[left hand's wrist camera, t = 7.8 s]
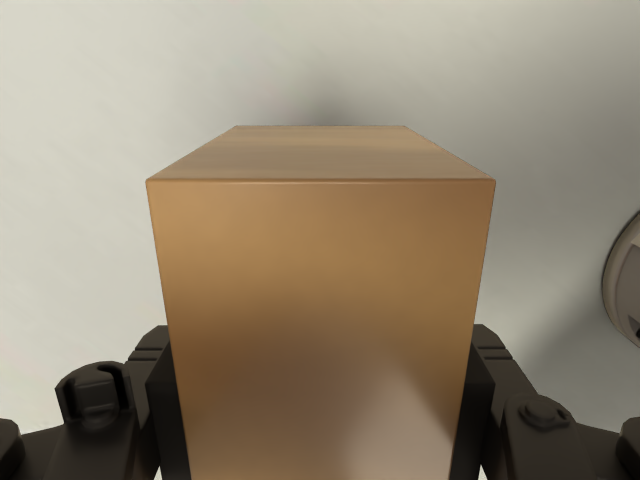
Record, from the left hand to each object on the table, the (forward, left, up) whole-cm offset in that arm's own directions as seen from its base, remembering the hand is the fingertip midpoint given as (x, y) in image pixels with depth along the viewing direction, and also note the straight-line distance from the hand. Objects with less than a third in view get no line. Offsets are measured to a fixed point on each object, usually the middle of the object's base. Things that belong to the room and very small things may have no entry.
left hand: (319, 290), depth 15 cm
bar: (-2, +18, -1) cm, 19 cm away
